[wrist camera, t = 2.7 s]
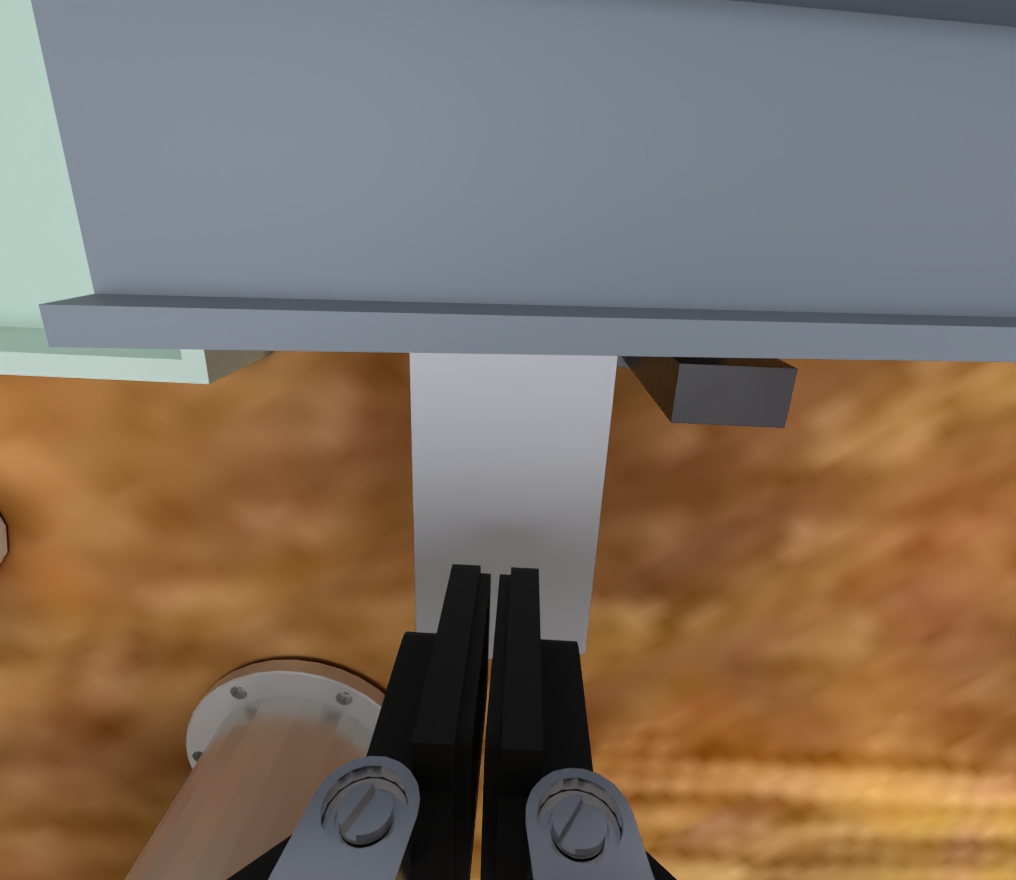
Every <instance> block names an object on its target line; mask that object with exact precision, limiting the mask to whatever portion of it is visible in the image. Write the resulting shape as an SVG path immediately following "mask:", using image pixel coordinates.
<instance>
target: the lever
mask: <svg viewBox="0 0 1016 880" xmlns="http://www.w3.org/2000/svg"><path fill="white" fill-rule="evenodd" d="M31 4H32V8H33V13H34V17H35V22H36V27H37V31H38V36H39V41H40V45H41V50H42V54H43V59H44V64H45V68H46V73H47V77H48V82H49V87H50V91H51V96H52V100H53V105H54V110H55V114H56V119H57V123H58V128H59V133H60V137H61V142H62V147H63V151H64V156H65V160H66V165H67V170H68V174H69V179H70V183H71V188H72V193H73V197H74V202H75V206H76V211H77V216H78V220H79V225H80V229H81V234H82V239H83V243H84V248H85V253H86V257H87V262H88V266H89V271H90V276H91V280H92V285H93V289H94V294H90V295H85V296H80V297H75V298H70V299H64V300H59V301H54V302H49V303H44V304H38V305H39V309H40V313H41V317H42V321H43V325H44V329H45V333H46V337H47V341H48V344H49V347H69V348H134V349H199V350H264V351H328V352H393V353H410V388H411V430H412V473H413V515H414V557H415V599H416V632H422V633H437V629H438V624H439V620H440V616H441V611H442V607H443V603H444V598H445V594H446V590H447V585H448V581H449V576H450V572H451V568H452V565H453V564H463V565H480V566H481V573H489V574H491V594H490V625H489V655H488V659H492V657H493V645H494V634H495V622H496V611H497V599H498V588H499V577H500V574H507V575H511V567H518V568H537V569H539V593H540V633H541V639H546V640H563V641H577V643H578V647H579V654H585V650H586V641H587V632H588V623H589V614H590V604H591V595H592V586H593V577H594V568H595V559H596V550H597V540H598V531H599V522H600V513H601V504H602V495H603V486H604V476H605V467H606V458H607V449H608V440H609V431H610V422H611V413H612V403H613V394H614V385H615V376H616V367H617V358H618V356H652V357H717V358H782V359H847V360H911V361H976V362H1016V0H31Z"/></svg>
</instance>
